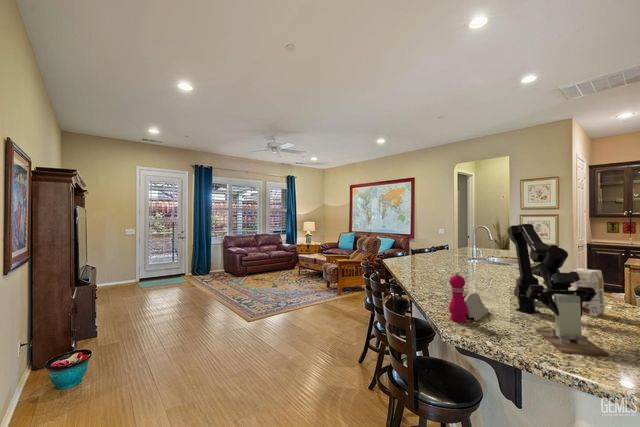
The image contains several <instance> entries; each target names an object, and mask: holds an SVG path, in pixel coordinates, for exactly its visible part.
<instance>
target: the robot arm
mask: <svg viewBox="0 0 640 427" xmlns="http://www.w3.org/2000/svg"><path fill="white" fill-rule="evenodd" d="M507 234H508V236H509V240H510V241H511V242H512V244H514V246H515V251H516V252H515V253H516V260H517V265H518V271H519V276H518V278H517V279H518V280H517V285H515V287H514V290H513V295H514V297H516V298H519V303H518V308H515V310H516V311H517V312H518V311H519V312H522V313H525V314H526V313H527V314H528V315H529V314H530V315H531V314H536V313H540V310H538V309H536V301H537V302H539V303H542V304H543V306H545V307H547V308H548V309H549V310H550V311H551V312H552V313H553V314H554V315H555V314H556V315H557V316H559V312H558V309H557V307H556V305H555V303H554V294H569V295H577V296H579V297H580V307H581V318H582V317H583V314H582V303H583V302H590V301H591V300H592V299H593V298H594V296H595V295H596V294H597V293H596V291H595V289H594V288H592V287H578V288H577V290H574V289H573V290H570V288H571V287H572V284H573V283H575V282H577V281H579V280H580V277H579V275H578V273H577V272H574V271H570V272H561V271H560V268H562V267H563V266H564V264H565V262H566V260H567V259H568V256H569V253H568V251H567V250H565V249H563V248H561V247H559V246H558V245H557V244H550V245H549V244H547V243H544V242H543V241H542V239H541V237H540V236H539V234H538V233H537V232H536V230H535V226H534V225H533V224H532V223H520V224H518V225H515V224H514V225H513V224H512V225H510V227H508V228H507ZM529 248H530V251H529ZM531 261H532V262H533V263H539V265H538V269H537V270H538V271H537V272H538V273H540V274H541V277H542V278H543V282H542V284H543V285H541V284H540V282H539V279H538V277H535V276H534V274H533V270H532V264H531ZM545 286H546V287H545Z"/></svg>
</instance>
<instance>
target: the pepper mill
mask: <svg viewBox="0 0 640 427" xmlns="http://www.w3.org/2000/svg"><path fill="white" fill-rule="evenodd" d="M448 281H449V282H448V283H449V285H450V291H451V293H452V295H451V300H450V302H449V304H448V311H449V312H450V314H449V317H450V320H451V321H453V322H456V323H466V322H467V321H468V318H467V316H465V315H466V314H467V313H468V308H467V305H466V303H465V301H464V298H463V295H464V292H465V287H464V286H465V285H466V281H465V278H464V277H463V276H461V275H460V272H458V271H455V272H454V275H452V276H451V277H450V278H449V280H448Z"/></svg>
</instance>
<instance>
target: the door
mask: <svg viewBox="0 0 640 427" xmlns="http://www.w3.org/2000/svg"><path fill="white" fill-rule="evenodd" d="M553 301H554V303H555V305H556V307H557V309H558V312H559V316H557V315H556V314H555V313H554V323H555V324H554V328H555V333H556V335H557V336H558V337H559V334H566V335H569V336H570V339H577V337H576V335H579V336H583V335H582V332H583V331H582V317H581V307H580V297H579V296H577V295H569V294H554V296H553Z"/></svg>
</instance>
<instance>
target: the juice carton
mask: <svg viewBox="0 0 640 427" xmlns="http://www.w3.org/2000/svg"><path fill="white" fill-rule="evenodd" d="M573 272H577V273H578V275H579V277H580V280H579V281H577V282H575V283H572V284H573V290H577V288H578V287H592V288H594V289H595V291H596V293H597V294H596V295H595V296H594V298H593V299H592V300H591V301H590V302H583V303H582V315H586V316H590V317H593V316H594V317H595V318H597V317H599V316H600V317H601V316H603V315H604V314H605V313H604V312H605V294H604V293H605V292H604V276H603V273H602V270H600V269H589V268H583V267H580V268H575V269H573Z"/></svg>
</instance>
